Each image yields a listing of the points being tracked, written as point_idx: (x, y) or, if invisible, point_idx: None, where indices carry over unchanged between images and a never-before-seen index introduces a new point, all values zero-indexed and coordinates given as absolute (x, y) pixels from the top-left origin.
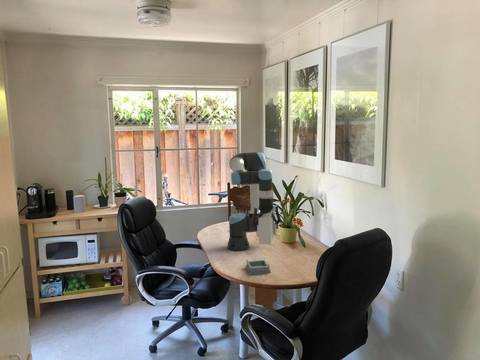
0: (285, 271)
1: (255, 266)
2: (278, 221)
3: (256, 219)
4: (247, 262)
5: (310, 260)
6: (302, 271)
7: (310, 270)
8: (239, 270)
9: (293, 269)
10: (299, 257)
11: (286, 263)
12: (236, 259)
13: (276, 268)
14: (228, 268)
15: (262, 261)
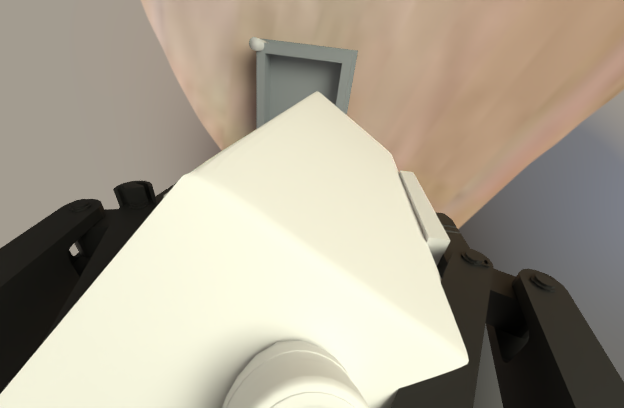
0: (398, 160)
1: (298, 73)
2: (486, 316)
3: (97, 258)
4: (257, 57)
5: (606, 84)
6: (457, 186)
7: (492, 191)
8: (228, 71)
9: (440, 155)
10: (604, 4)
11: (462, 74)
12: None
13: (382, 116)
14: (183, 24)
15: (336, 62)
